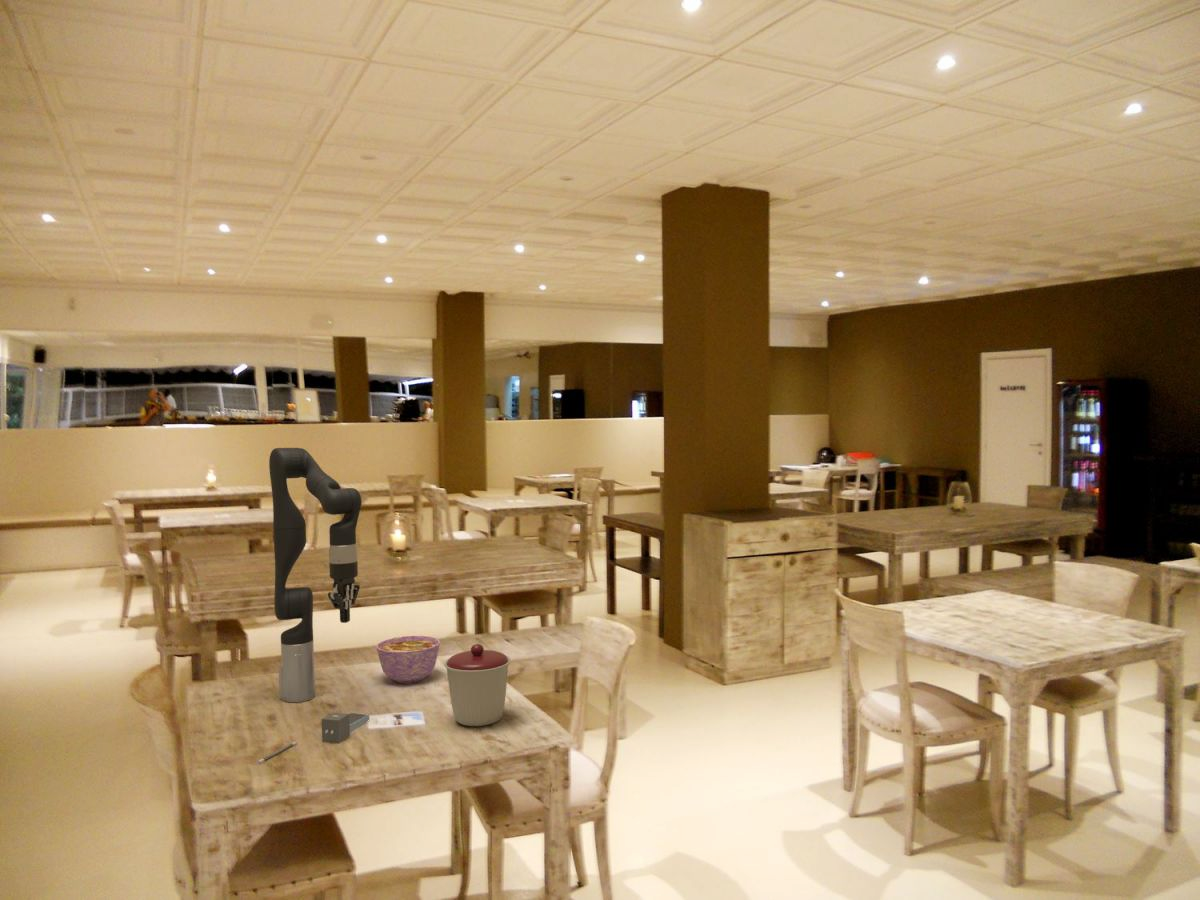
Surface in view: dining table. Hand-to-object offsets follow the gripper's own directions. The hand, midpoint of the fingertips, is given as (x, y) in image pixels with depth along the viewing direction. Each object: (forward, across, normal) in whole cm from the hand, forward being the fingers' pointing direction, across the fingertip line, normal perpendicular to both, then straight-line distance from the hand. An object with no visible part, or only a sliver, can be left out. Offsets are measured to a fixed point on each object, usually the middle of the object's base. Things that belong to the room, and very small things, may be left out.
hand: (345, 621), depth 239 cm
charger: (+27, -15, -6) cm, 31 cm away
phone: (+28, -6, -4) cm, 28 cm away
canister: (+27, +6, -37) cm, 46 cm away
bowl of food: (+27, +36, 0) cm, 45 cm away
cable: (+27, -27, +3) cm, 38 cm away
